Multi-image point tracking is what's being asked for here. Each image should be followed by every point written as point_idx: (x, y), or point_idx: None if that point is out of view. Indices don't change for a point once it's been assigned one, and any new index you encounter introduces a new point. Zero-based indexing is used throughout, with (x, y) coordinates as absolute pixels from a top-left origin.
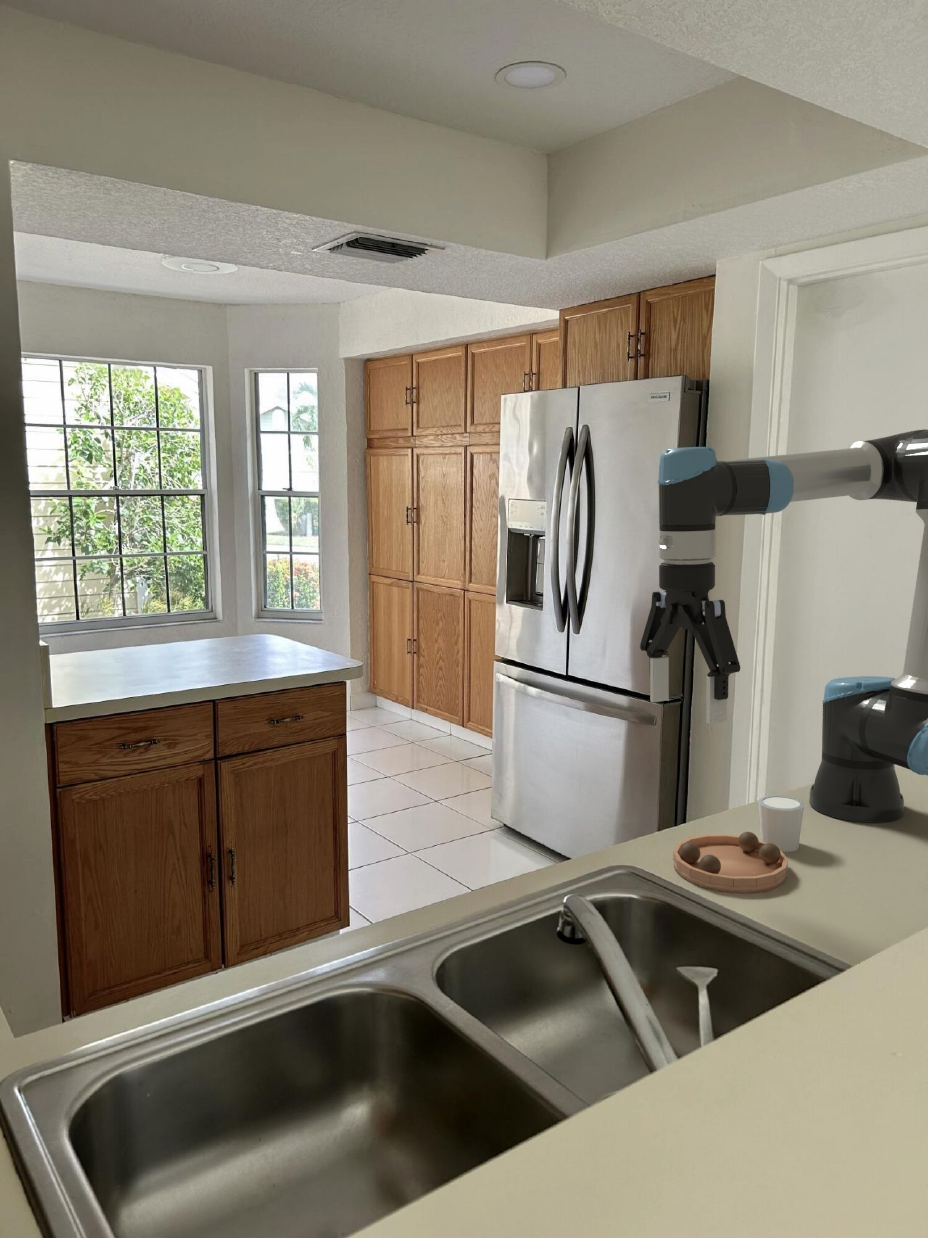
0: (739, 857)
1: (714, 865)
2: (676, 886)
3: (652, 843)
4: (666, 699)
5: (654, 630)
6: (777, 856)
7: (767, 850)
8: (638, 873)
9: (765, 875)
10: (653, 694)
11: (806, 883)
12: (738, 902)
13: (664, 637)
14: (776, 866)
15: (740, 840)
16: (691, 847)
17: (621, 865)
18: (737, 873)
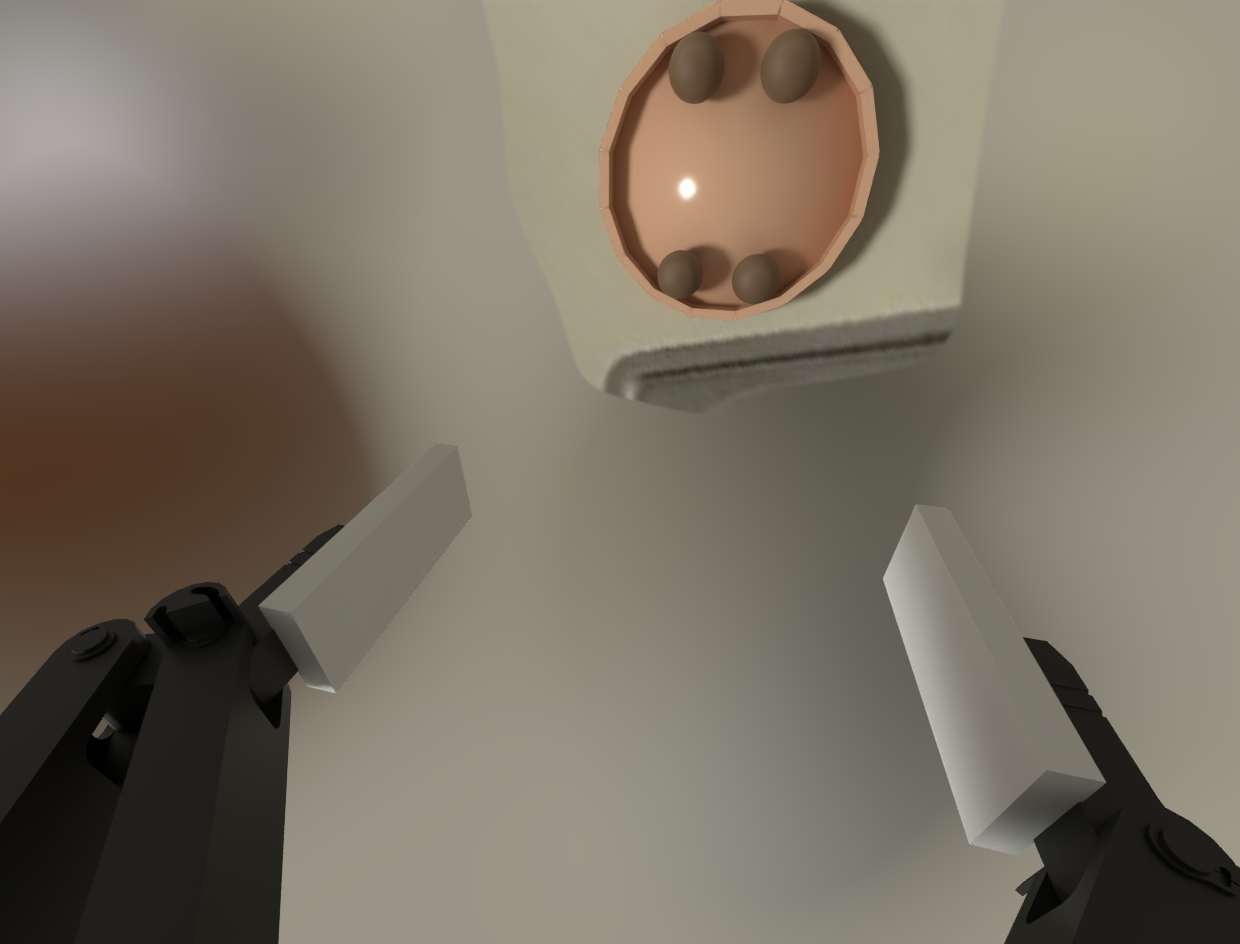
0: (717, 131)
1: (777, 287)
2: (732, 344)
3: (540, 254)
4: (457, 460)
5: (62, 889)
6: (820, 63)
7: (800, 89)
8: (652, 369)
9: (867, 183)
10: (453, 536)
11: (906, 31)
12: (858, 282)
13: (263, 895)
14: None
15: (691, 101)
16: (689, 284)
17: (610, 374)
18: (783, 208)
